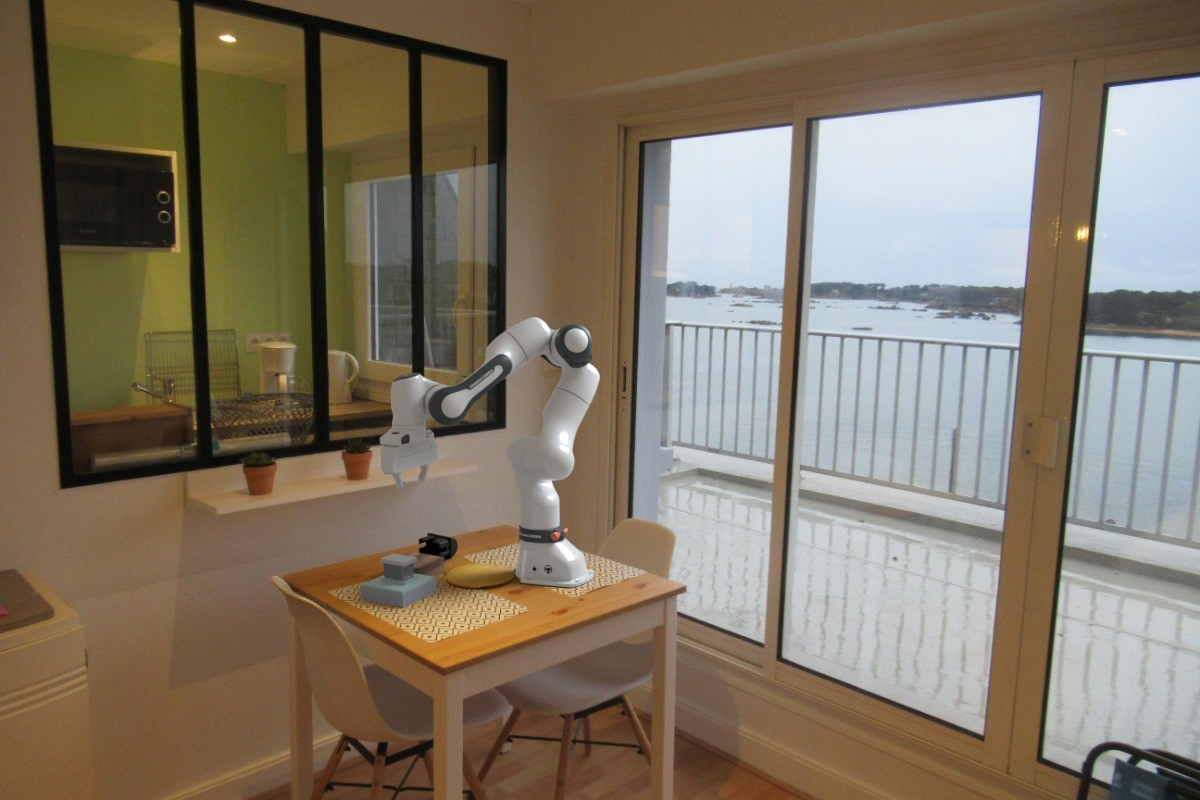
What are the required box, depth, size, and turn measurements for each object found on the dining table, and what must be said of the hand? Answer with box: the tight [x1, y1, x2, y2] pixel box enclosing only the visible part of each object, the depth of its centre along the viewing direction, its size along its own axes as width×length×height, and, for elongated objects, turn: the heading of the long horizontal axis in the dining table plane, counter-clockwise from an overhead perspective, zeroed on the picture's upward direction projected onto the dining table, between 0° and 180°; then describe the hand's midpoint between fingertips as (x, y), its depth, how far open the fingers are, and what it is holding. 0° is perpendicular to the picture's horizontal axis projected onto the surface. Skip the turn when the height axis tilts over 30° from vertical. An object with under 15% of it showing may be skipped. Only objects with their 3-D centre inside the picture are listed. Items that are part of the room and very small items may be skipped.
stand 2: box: [359, 573, 438, 608], centre depth 223 cm, size 14×14×4 cm
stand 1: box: [382, 551, 446, 577], centre depth 240 cm, size 12×12×4 cm
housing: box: [379, 552, 418, 585], centre depth 222 cm, size 8×5×6 cm, turn 63°
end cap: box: [418, 532, 459, 562], centre depth 256 cm, size 10×7×7 cm
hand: (412, 484), depth 230 cm, fingers open, 8 cm apart
